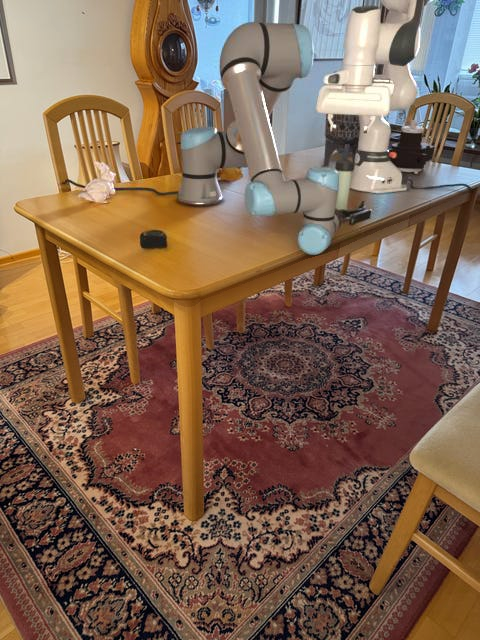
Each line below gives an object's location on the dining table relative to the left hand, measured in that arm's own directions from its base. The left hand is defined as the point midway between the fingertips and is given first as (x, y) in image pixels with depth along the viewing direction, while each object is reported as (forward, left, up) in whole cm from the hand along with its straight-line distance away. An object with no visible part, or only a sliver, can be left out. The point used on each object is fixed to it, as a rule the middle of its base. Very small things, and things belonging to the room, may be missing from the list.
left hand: (339, 202), depth 137 cm
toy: (-50, +37, -6) cm, 63 cm away
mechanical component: (+16, +92, -6) cm, 93 cm away
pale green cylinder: (-1, +4, -6) cm, 7 cm away
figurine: (-79, -12, -6) cm, 80 cm away
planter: (-13, +82, -6) cm, 84 cm away
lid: (-1, +4, +11) cm, 12 cm away
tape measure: (-40, -42, -6) cm, 58 cm away
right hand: (-1, +4, +19) cm, 20 cm away
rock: (-17, +123, -6) cm, 125 cm away
